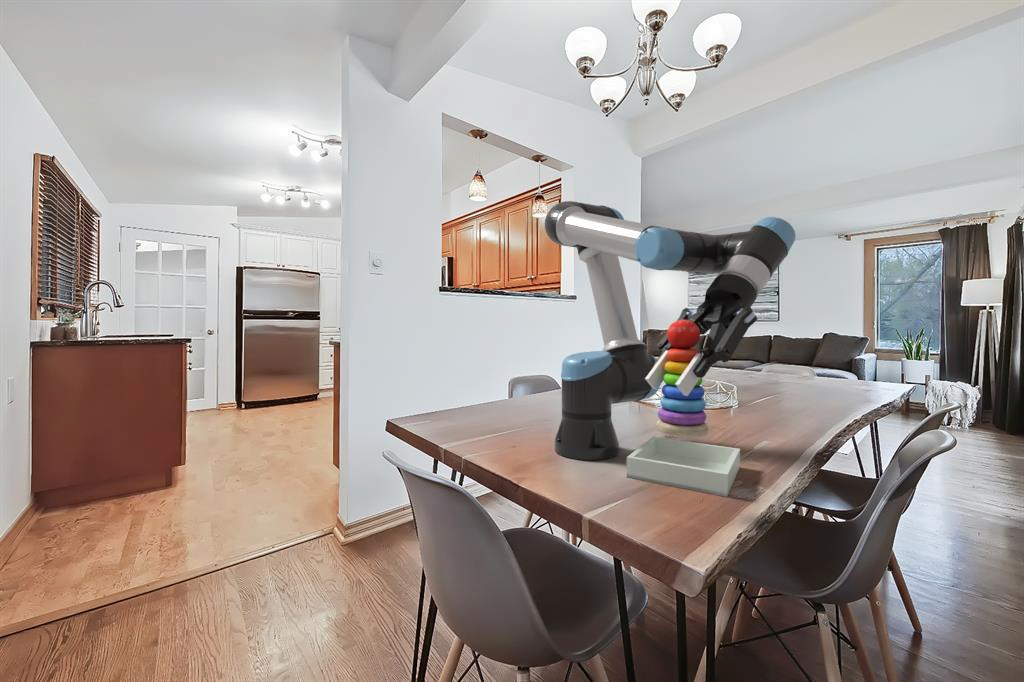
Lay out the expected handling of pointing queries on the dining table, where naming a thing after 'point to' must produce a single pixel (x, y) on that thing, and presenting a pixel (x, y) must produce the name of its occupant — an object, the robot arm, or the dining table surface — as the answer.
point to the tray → (685, 465)
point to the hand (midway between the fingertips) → (665, 386)
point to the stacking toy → (677, 409)
